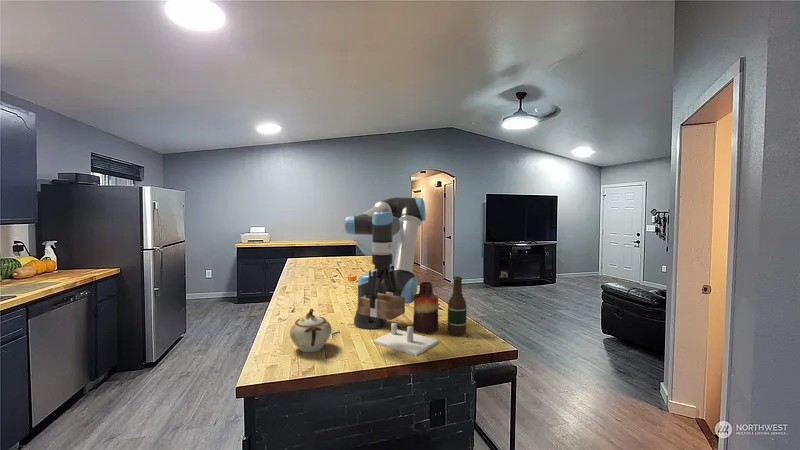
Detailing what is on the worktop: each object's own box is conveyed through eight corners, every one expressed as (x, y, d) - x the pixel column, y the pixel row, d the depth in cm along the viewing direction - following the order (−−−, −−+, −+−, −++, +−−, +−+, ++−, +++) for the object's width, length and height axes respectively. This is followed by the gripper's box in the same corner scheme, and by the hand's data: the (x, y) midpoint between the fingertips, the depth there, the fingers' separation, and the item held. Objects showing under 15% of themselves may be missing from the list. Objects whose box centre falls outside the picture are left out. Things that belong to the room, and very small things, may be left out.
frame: (358, 313, 128) (358, 297, 127) (373, 307, 136) (374, 292, 136) (390, 320, 121) (390, 303, 120) (404, 313, 129) (404, 297, 129)
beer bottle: (465, 337, 142) (467, 279, 141) (446, 335, 143) (447, 278, 142) (466, 330, 149) (467, 275, 148) (448, 329, 151) (448, 274, 150)
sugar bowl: (335, 355, 122) (335, 313, 121) (291, 361, 117) (291, 318, 116) (327, 336, 140) (327, 300, 140) (288, 341, 135) (288, 303, 134)
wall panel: (373, 342, 134) (373, 326, 134) (397, 331, 147) (397, 316, 147) (415, 355, 122) (416, 337, 122) (438, 342, 135) (438, 326, 135)
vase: (409, 331, 148) (410, 284, 147) (417, 324, 158) (418, 279, 157) (434, 335, 144) (434, 286, 143) (440, 327, 154) (441, 281, 153)
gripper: (373, 257, 116) (373, 323, 117) (406, 250, 135) (405, 306, 136) (355, 256, 119) (355, 319, 121) (389, 249, 139) (389, 304, 140)
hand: (381, 312), depth 128 cm, fingers closed on frame, 10 cm apart
